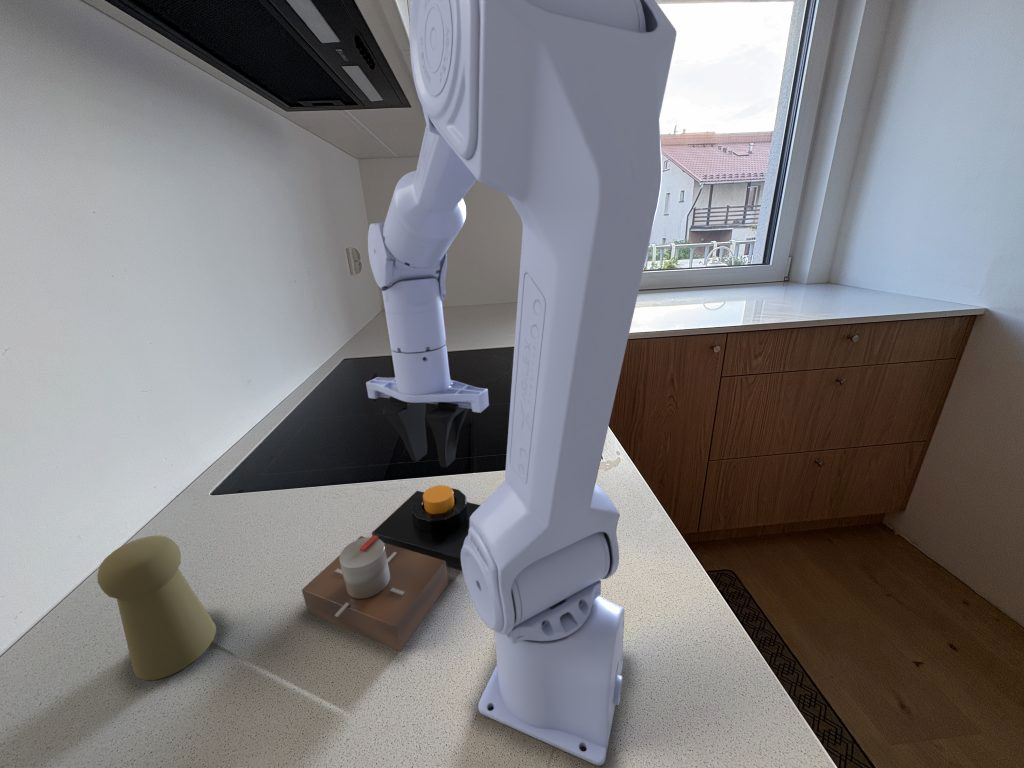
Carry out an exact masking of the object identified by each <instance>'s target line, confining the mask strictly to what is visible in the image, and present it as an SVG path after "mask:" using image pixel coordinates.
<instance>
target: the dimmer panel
mask: <svg viewBox="0 0 1024 768" xmlns="http://www.w3.org/2000/svg"><path fill="white" fill-rule="evenodd" d="M361 538H366V536H362V535H361V536H359V537H358V538H357V539H356V540H358V539H361ZM384 546H385V551H386V556H387V561H388V567H389V572H390V580H389V582H388V584H387V586H386V587H385V588H384V589H383V590H382V591H381V592H379V593H378V594H376V595H374V596H372V597H369V598H364V599H358V598H354V597H352V596H350V595H349V594H348V592H347V590H346V586H345V581H344V577H343V573H342V569H341V565H340V560H339V558H340V554H339V555H338V556H337V557H336V558H335V559H334V560H333V561H331V562H330V563H329V564H328V565H327V566H325V568H324V569H322V571H321V572H320V573H318V575H316V576H315V577H314V578H312V579H311V581H309V583H307V584H306V585H305V586H304V587H302V589H301V591H302V592H301V593H302V596H303V600H304V603H305V607H306V611H307V614H309V615H311V616H314V617H316V618H318V619H321V620H323V621H326V622H327V623H330V624H332V625H335V626H337V627H341V628H343V629H344V630H348V631H349V632H352V633H354V634H357V635H360V636H362V637H364V638H367V639H369V640H372V641H374V642H376V643H379V644H381V645H384V646H385V647H388V648H390V649H392V650H395V651H398V652H402V650H403V648H404V647H405V646H406V645H407V643H408V642H409V640H410V639H411V637H412V636H413V634H414V633H415V632H416V631H417V629H418V627H419V626H420V625H421V623H422V622H423V621H424V619H425V618H426V617H427V615H428V613H429V612H430V611H431V609H432V608H433V607H434V605H435V604H436V603H437V601H438V599H439V598H440V597H441V595H442V594H443V592H444V591H445V590H446V588H447V587H448V585H449V578H448V577H449V575H448V570H447V566H446V561H444V560H440V559H437V558H434V557H430V556H427V555H423V554H420V553H417V552H413V551H410V550H407V549H403V548H400V547H397V546H393V545H390V544H386V543H384Z"/></svg>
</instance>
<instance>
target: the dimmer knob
mask: <svg viewBox="0 0 1024 768" xmlns="http://www.w3.org/2000/svg"><path fill="white" fill-rule="evenodd" d="M365 537H366V536H365ZM357 539H358V538H357ZM357 539H356V540H354V541H352V542H350V543H349V544H347V545H346V546H345V547H344V548H343V549H342V550H341V552H340V554H339V555H340V558H339V560H340V565H341V569H342V573H343V577H344V581H345V586H346V590H347V592H348V594H349V595H350V596H352V597H354V598H358V599H364V598H369V597H372V596H374V595H376V594H378V593H379V592H381V591H382V590H383V589H384V588H385V587H386V586H387V584H388V582H389V580H390V572H389V567H388V561H387V556H386V551H385V546H384V543H383V542H382V541H381V540H380V539H378V536H376V535H373V536H372V535H371V536H367V537H366V538H361V539H358V540H357Z"/></svg>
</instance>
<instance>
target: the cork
mask: <svg viewBox="0 0 1024 768" xmlns="http://www.w3.org/2000/svg"><path fill="white" fill-rule="evenodd" d="M181 556H182V555H181V549H180V547H179V545H178V544H177V543H176V542H175V540H173V539H172V538H169V537H167V536H166V535H160V534H159V535H147V536H145V537H139V538H137V539H135V540H131V541H129V542H127V543H125V544H123V545H121V546H120V547H118V548H117V549H115V550H114V551H112V552H111V553H110V554H108V555H107V556H106V557H105V558H104V559H103V561H102V562H101V563H100V565H99V568H98V571H97V577H96V578H97V584H98V585H99V588H100V589H101V590H102V592H103V594H105V595H106V596H107V597H109V598H112V599H116V602H117V606H118V610H119V616H120V620H121V623H122V628H123V632H124V636H125V640H126V646H127V649H128V652H129V657H130V662H131V667H132V669H133V670H132V671H133V673H134V675H135V676H136V677H137V678H138V679H141V680H143V681H157V680H160V679H163V678H167V677H169V676H172V675H174V674H176V673H178V672H180V671H181V670H183V669H186V668H187V667H188V666H189V665H191V664H192V663H194V662H195V661H197V660H198V659H199V658H200V657H201V656H202V655H203V654H204V653H205V652H206V651H207V650H208V648H209V647H210V646H211V644H212V642H213V641H214V639H215V637H216V634H217V626H216V625H217V624H216V623H215V622H214V620H213V619H212V617H211V616H210V613H208V611H207V609H206V608H205V606H204V605H203V603H202V602H201V601H200V599H199V598H198V596H197V594H196V593H195V592H194V590H193V589H192V587H191V585H190V584H189V582H188V581H187V579H186V578H185V576H184V575H183V573H182V572H181V570H180V565H181V563H182V557H181Z"/></svg>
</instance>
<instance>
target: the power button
mask: <svg viewBox="0 0 1024 768" xmlns="http://www.w3.org/2000/svg"><path fill="white" fill-rule="evenodd" d="M452 488H453V487H451V486H449V485H444V484H439V485H434V486H431V487H429V488H427V489H426V490H425V491H423V492H424V494H423V501H424V508H425V511H426V512H427V513H430V514H440V513H445V512H447V511H449V510H451V509H452V508H453V507H454V504H455V503H454V494H453V490H452Z"/></svg>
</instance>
